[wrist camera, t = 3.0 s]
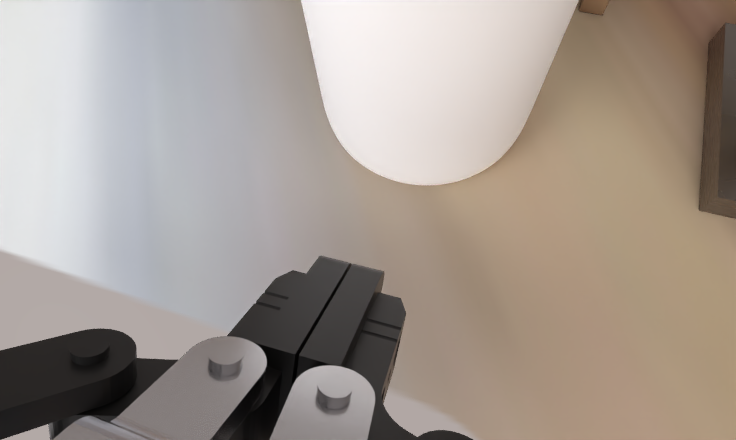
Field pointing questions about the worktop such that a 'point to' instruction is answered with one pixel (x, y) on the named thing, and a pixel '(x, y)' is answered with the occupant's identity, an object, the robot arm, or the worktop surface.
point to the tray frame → (593, 6)
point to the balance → (720, 127)
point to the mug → (432, 79)
